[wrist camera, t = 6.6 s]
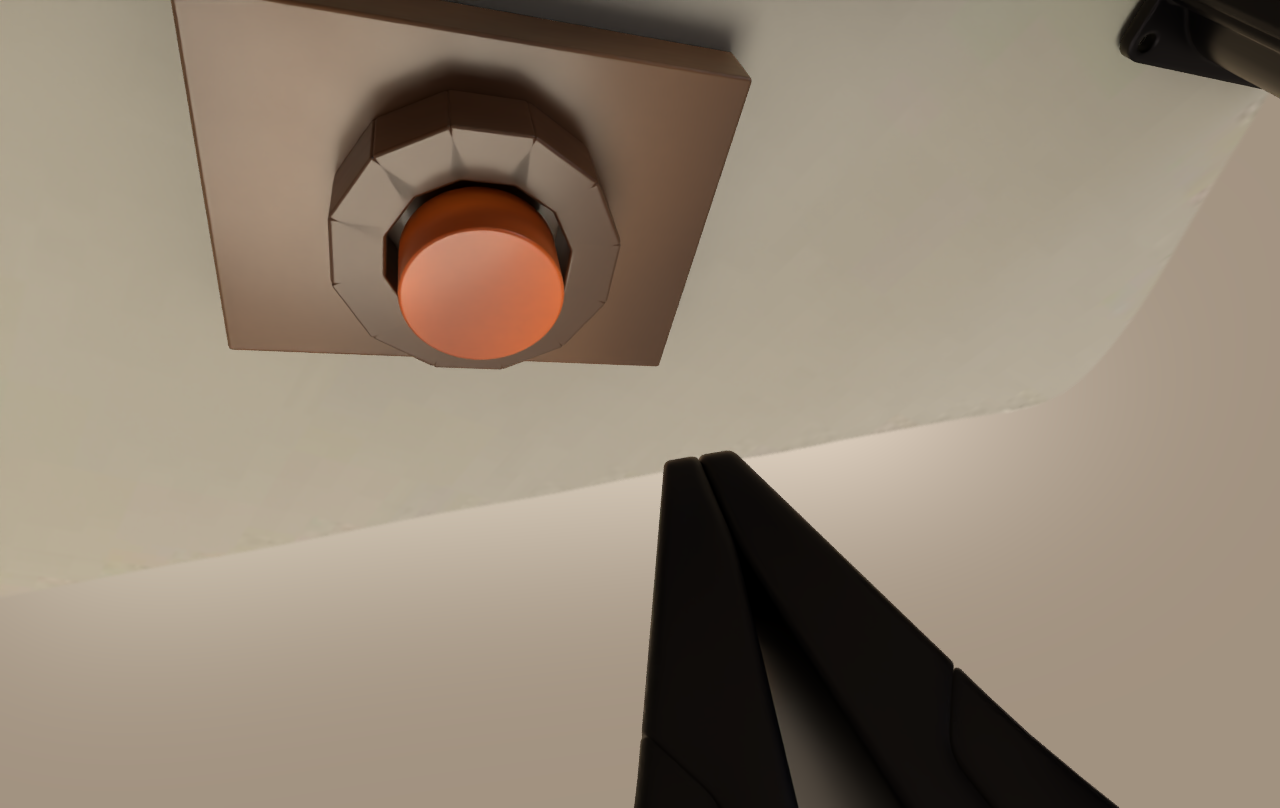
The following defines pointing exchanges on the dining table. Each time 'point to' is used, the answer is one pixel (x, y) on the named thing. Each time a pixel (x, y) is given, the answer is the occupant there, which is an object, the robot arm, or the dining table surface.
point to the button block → (446, 163)
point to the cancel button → (479, 274)
